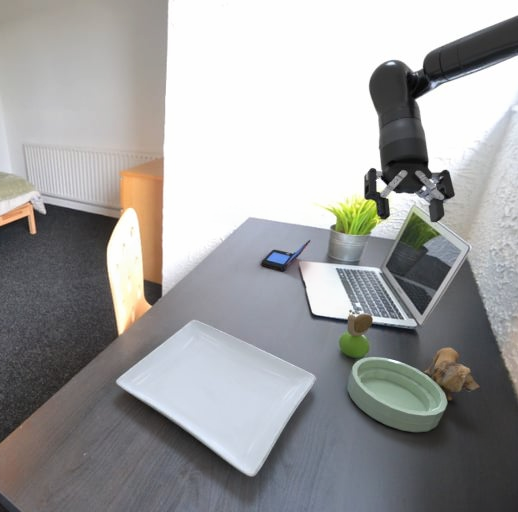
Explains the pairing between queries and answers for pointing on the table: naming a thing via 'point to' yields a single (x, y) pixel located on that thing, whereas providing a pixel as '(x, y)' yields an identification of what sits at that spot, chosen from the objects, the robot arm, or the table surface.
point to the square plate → (220, 392)
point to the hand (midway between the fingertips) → (410, 219)
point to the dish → (396, 394)
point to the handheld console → (281, 258)
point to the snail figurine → (356, 335)
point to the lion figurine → (450, 373)
